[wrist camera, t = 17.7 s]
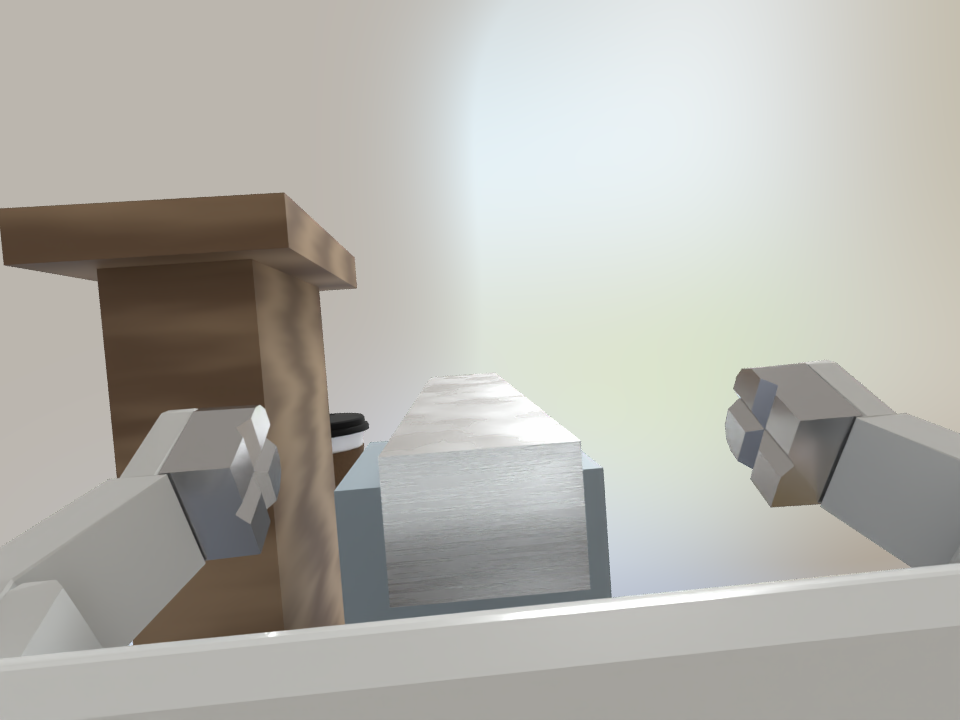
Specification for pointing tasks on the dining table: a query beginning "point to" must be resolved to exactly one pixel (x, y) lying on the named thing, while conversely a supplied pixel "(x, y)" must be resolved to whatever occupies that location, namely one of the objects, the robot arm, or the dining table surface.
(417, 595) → the aluminium bar
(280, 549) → the walnut stand
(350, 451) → the coffee cup
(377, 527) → the block
